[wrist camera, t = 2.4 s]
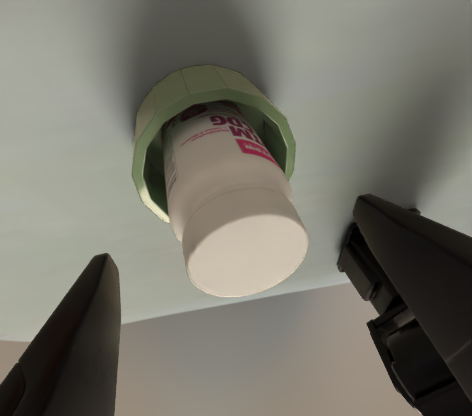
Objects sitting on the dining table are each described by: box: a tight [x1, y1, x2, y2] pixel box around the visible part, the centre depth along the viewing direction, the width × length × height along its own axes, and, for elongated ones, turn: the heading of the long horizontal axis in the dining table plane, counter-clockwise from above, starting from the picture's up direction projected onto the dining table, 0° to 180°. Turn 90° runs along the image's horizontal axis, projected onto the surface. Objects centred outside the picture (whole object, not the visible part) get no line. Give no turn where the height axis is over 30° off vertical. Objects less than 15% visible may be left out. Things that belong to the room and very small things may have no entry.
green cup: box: [132, 65, 296, 224], centre depth 14 cm, size 7×7×4 cm
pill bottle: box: [162, 100, 309, 297], centre depth 12 cm, size 5×5×8 cm
